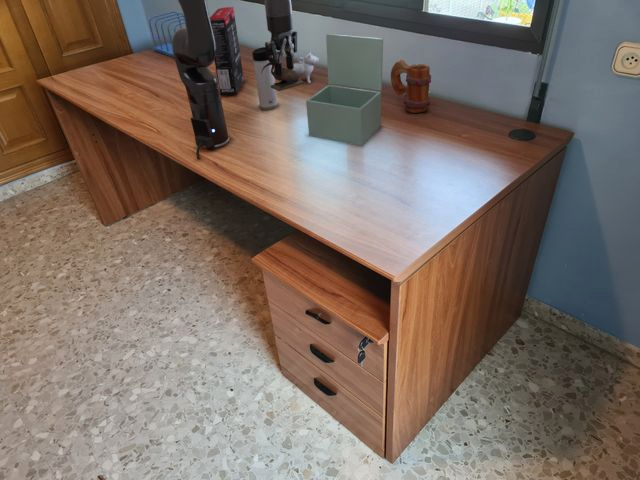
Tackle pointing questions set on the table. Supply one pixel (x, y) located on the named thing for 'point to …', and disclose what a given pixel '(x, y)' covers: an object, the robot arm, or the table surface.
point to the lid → (355, 61)
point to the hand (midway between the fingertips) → (284, 71)
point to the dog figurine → (306, 65)
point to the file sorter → (167, 47)
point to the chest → (344, 114)
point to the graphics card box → (227, 51)
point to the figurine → (285, 78)
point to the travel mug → (264, 80)
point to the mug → (412, 85)
